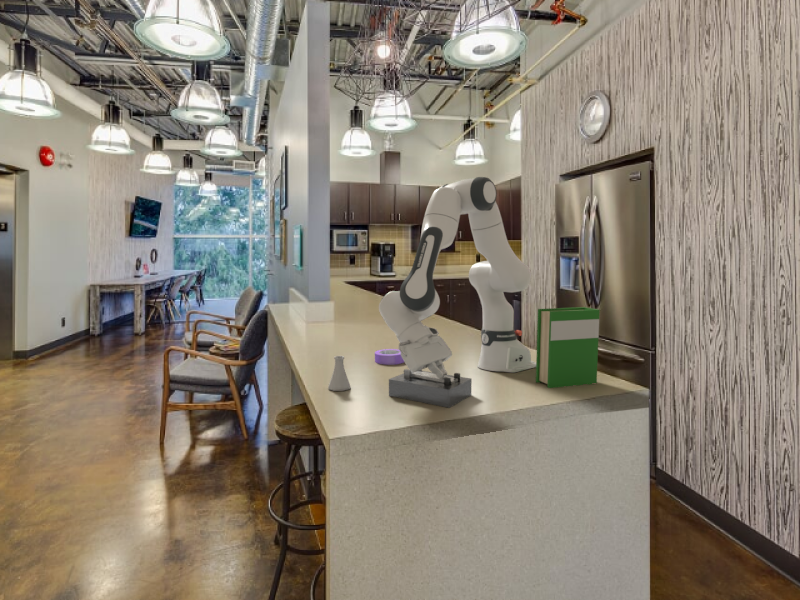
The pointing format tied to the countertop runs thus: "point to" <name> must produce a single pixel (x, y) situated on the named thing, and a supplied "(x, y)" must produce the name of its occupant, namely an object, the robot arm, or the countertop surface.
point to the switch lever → (431, 376)
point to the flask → (339, 376)
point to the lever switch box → (430, 389)
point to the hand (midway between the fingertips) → (443, 376)
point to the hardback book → (567, 346)
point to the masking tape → (388, 356)
